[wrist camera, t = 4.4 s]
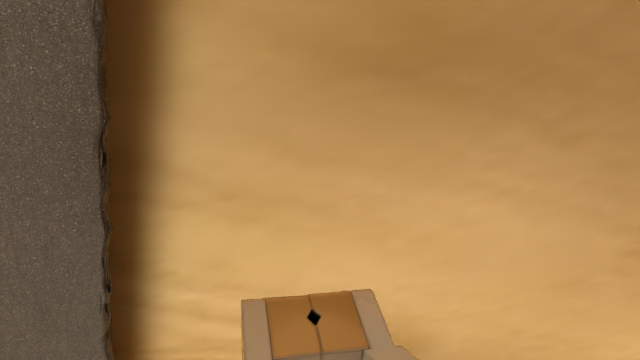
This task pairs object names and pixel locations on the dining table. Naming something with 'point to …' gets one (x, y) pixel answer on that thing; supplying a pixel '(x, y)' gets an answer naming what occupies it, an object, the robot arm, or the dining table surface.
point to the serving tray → (54, 181)
